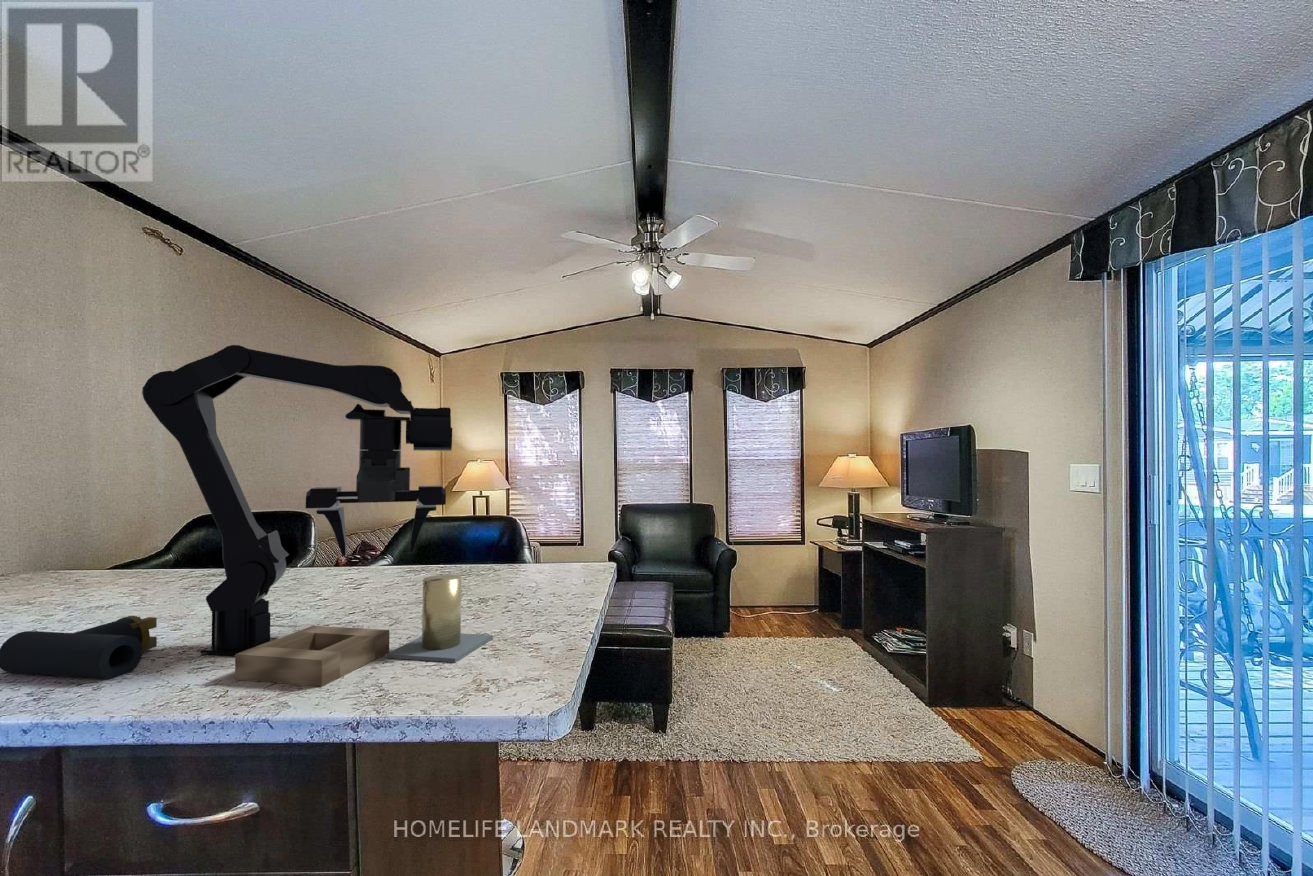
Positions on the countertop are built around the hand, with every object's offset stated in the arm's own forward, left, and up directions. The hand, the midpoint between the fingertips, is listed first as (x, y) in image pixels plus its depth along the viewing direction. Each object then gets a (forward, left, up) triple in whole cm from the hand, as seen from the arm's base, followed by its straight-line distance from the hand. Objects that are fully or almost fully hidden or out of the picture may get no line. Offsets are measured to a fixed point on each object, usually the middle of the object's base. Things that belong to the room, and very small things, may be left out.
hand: (378, 553), depth 89 cm
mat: (+13, -5, -12) cm, 18 cm away
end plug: (+13, -5, -11) cm, 18 cm away
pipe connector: (-27, -18, -12) cm, 35 cm away
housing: (+1, -14, -12) cm, 18 cm away
